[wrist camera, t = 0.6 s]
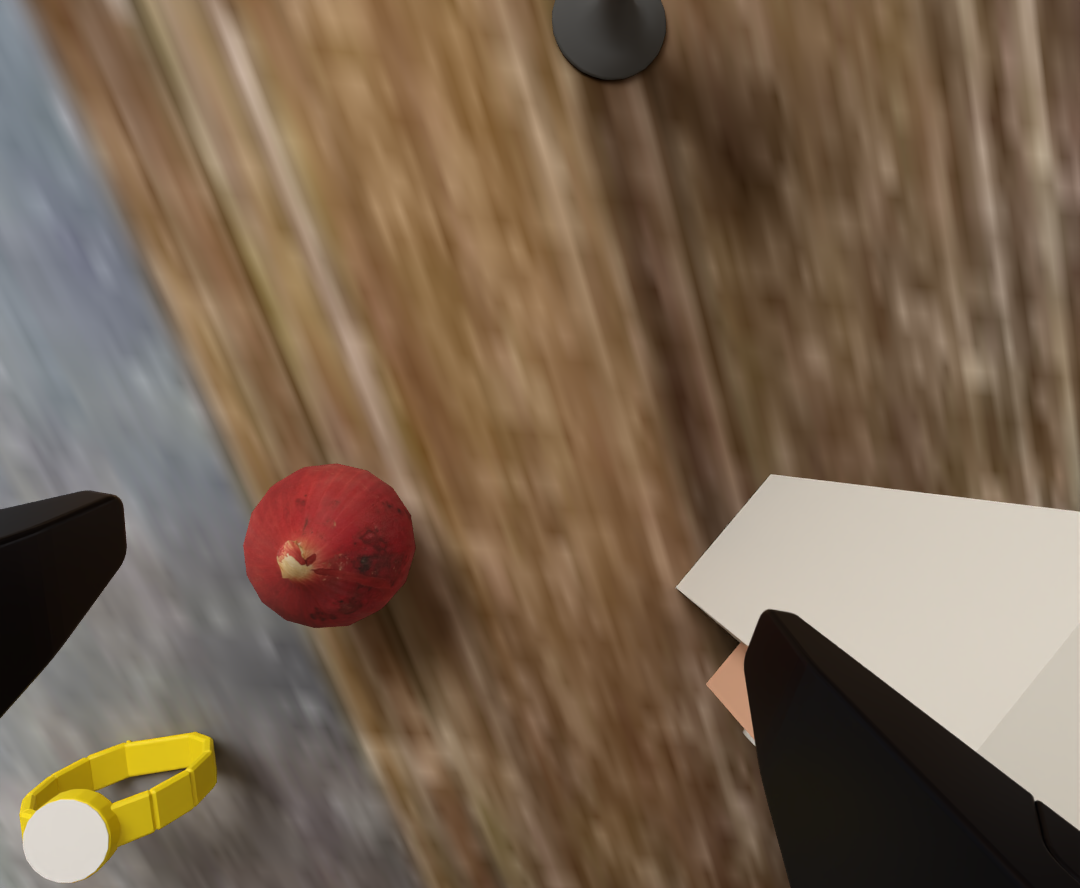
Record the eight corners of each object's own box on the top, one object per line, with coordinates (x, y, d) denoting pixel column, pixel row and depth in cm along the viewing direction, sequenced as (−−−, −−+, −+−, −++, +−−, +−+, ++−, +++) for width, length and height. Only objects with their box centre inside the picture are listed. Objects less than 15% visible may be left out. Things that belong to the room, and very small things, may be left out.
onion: (440, 481, 27) (417, 499, 19) (404, 613, 27) (365, 686, 19) (305, 445, 27) (223, 447, 19) (268, 579, 26) (170, 638, 18)
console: (826, 717, 28) (1286, 1101, 12) (675, 587, 28) (937, 800, 11) (918, 605, 28) (1492, 828, 12) (770, 474, 28) (1161, 521, 12)
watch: (101, 792, 26) (-28, 897, 20) (92, 726, 26) (-39, 812, 20) (244, 774, 26) (157, 874, 20) (235, 709, 26) (145, 789, 20)
